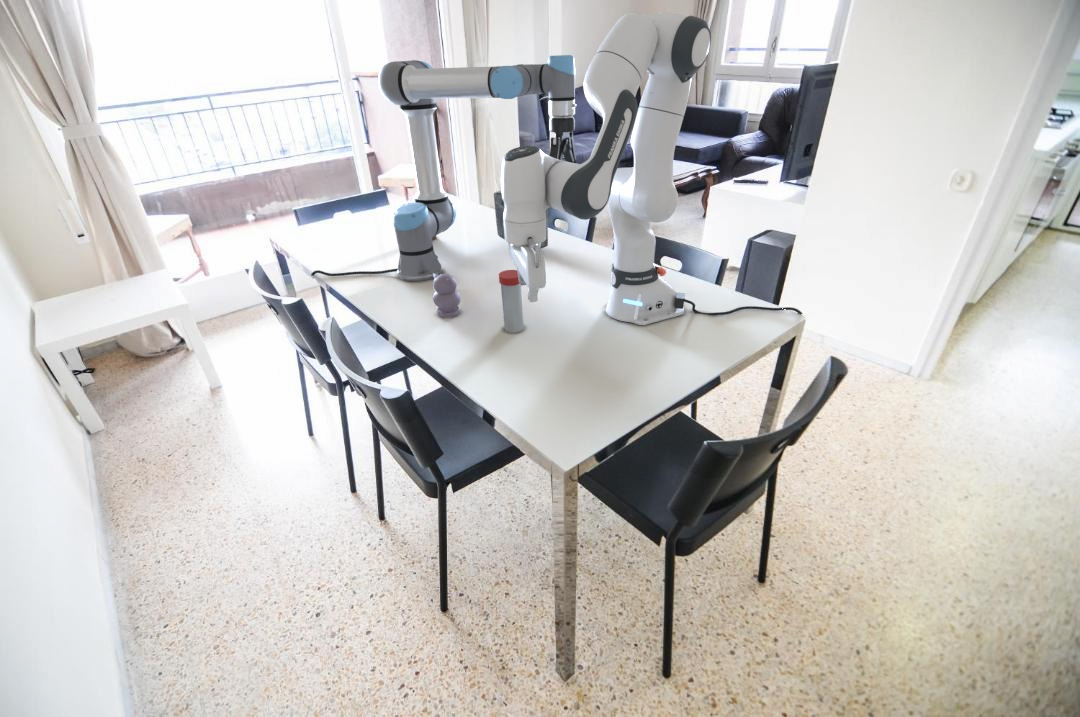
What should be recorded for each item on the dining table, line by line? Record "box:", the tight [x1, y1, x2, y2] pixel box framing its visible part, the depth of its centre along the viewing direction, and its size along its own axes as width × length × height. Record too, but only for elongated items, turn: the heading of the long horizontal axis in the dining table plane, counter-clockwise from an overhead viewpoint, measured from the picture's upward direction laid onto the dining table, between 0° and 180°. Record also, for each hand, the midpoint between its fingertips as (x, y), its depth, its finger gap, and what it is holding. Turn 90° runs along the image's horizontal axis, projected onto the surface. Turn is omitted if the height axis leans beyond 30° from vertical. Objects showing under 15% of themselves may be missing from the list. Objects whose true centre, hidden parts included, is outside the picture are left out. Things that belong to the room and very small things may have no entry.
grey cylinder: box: [500, 284, 525, 334], centre depth 134 cm, size 5×5×16 cm
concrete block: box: [493, 189, 549, 250], centre depth 191 cm, size 27×9×20 cm, turn 36°
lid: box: [498, 269, 520, 286], centre depth 131 cm, size 6×6×2 cm
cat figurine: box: [432, 273, 462, 318], centre depth 145 cm, size 9×8×12 cm
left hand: (562, 191), depth 156 cm, fingers open, 13 cm apart
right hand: (527, 292), depth 111 cm, fingers open, 8 cm apart
